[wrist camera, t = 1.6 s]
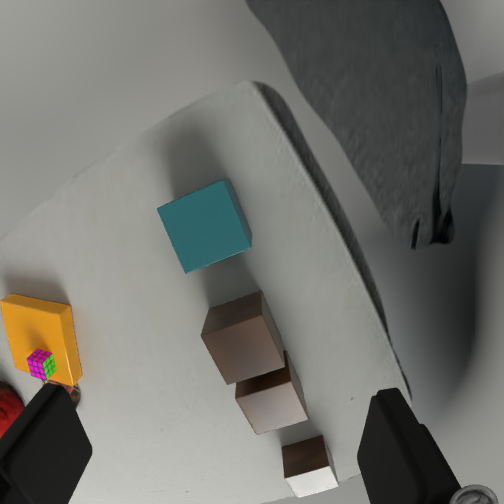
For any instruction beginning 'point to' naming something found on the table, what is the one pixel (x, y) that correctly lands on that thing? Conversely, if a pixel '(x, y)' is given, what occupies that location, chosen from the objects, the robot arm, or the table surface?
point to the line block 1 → (243, 338)
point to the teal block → (206, 225)
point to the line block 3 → (309, 467)
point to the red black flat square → (72, 391)
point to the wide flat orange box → (42, 338)
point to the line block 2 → (272, 399)
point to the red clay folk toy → (8, 407)
